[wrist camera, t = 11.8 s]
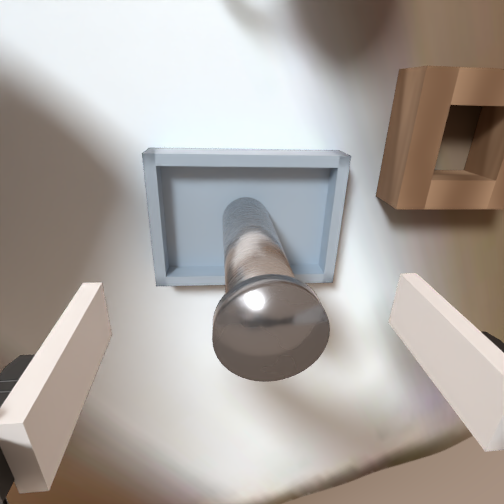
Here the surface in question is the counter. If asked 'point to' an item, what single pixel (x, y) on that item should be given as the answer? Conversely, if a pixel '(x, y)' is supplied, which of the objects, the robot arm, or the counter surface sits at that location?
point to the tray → (237, 186)
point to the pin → (264, 302)
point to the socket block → (430, 136)
